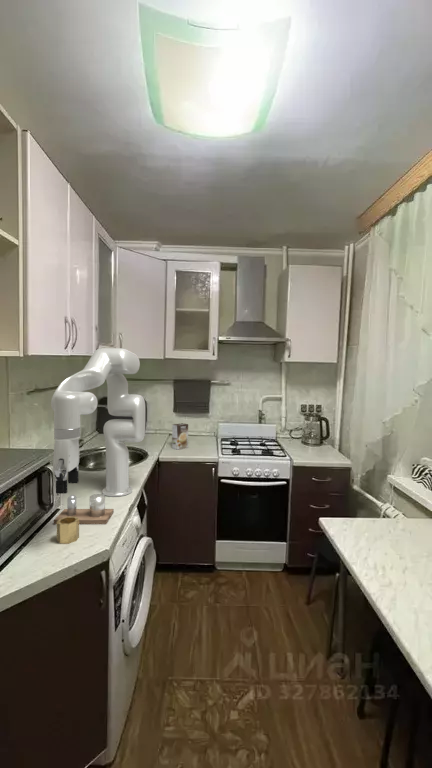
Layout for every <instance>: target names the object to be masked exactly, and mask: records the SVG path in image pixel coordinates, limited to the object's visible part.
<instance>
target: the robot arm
mask: <svg viewBox="0 0 432 768" xmlns="http://www.w3.org/2000/svg"><path fill="white" fill-rule="evenodd" d="M140 367H141V363H140V358H139V356H138V355H137V354H136V353H134V352H132V351H130V350H128V349H126V348H122V347H121V348H120V347H115V348H114V347H103V348H102V347H101V348H98V349H96V350H95V351H93V353H92V355H91V356H90V358H89V359H88V362H87V363H86V364H85V366H84V367H83V369H82V370H80V371H78V372H75V373H73V374H72V375H70V376H69V377H67V378H66V379H64V380H62V382H60V384H59V385H58V387H56V389H55V391H54V393H53V395H52V396H51V401H50V407H51V409H52V411H53V424H54V425H53V428H54V429H53V430H54V431H53V432H54V433H53V434H54V435H53V438H54V439H53V440H54V444H53V445H54V446H53V457H52V471H53V473H54V477H55V479H54V480H55V494H58V495H59V494H61V495H62V494H63V495H64V494H67V493H68V484H79V480H80V479H79V477H80V476H79V469H80V468H79V463H80V443H79V439H81V416H82V415H91V414H93V413H94V412H95V411H96V409H97V407H98V398H97V396H96V395H95V394H94V393H93V392H89V390H94V389H96V388H99V387H101V386H102V385H103V384H104V383H105V382H106V384H107V411H108V414H109V415H111V416H114V417H132V419H127V418H125V419H123V418H118V419H117V418H114V419H109V420H108V421H106V422H105V423H104V425H103V435H104V436H103V437H104V442H105V487H104V488H103V489H102V490H101V492H102V493H101V494H104V495H105V497H115V498H116V497H123V496H126V495H129V494H131V493H132V492H133V487H132V486H131V485H130V482H129V481H130V480H129V479H130V478H129V477H130V474H129V473H130V470H129V469H130V466H129V465H130V463H129V461H130V460H129V459H130V457H129V456H130V453H129V448H128V446H127V445H126V443H139V442H142V441H143V440H144V438H145V436H146V401H145V399H144V397H143V395H140V394H137V393H136V394H135V393H134V394H133V393H132V394H131V393H130V394H129V382H128V380H127V377H125V375H135V374H137V373H138V372H139V369H140Z"/></svg>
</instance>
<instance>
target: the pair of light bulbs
mask: <svg viewBox="0 0 432 768" xmlns="http://www.w3.org/2000/svg"><path fill="white" fill-rule="evenodd" d="M66 502H67V503H66V504H67V508H66V509H67V515H68V516H74V515H76V509H77V496H76V495H74V494H70V495H68V496H67V501H66ZM89 509H90V516H91V517H101V516H103V515H105V509H106V495H104V494H103V493H96V494H91V495H89Z"/></svg>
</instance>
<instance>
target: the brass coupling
mask: <svg viewBox="0 0 432 768" xmlns="http://www.w3.org/2000/svg"><path fill="white" fill-rule="evenodd" d="M79 538H80V524H79V519H78V518H77V517H65V518H61V519H59V520H58V521H57V524H56V542H57V543H59V544H60V545H68V544H72V543H75V542H77V541H78V540H79Z"/></svg>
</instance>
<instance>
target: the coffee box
mask: <svg viewBox="0 0 432 768" xmlns="http://www.w3.org/2000/svg"><path fill="white" fill-rule="evenodd" d="M171 425H172V428H171V429H172V431H171V449H175V450H182V449H188V447H189V424H188V423H174V424H171Z"/></svg>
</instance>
